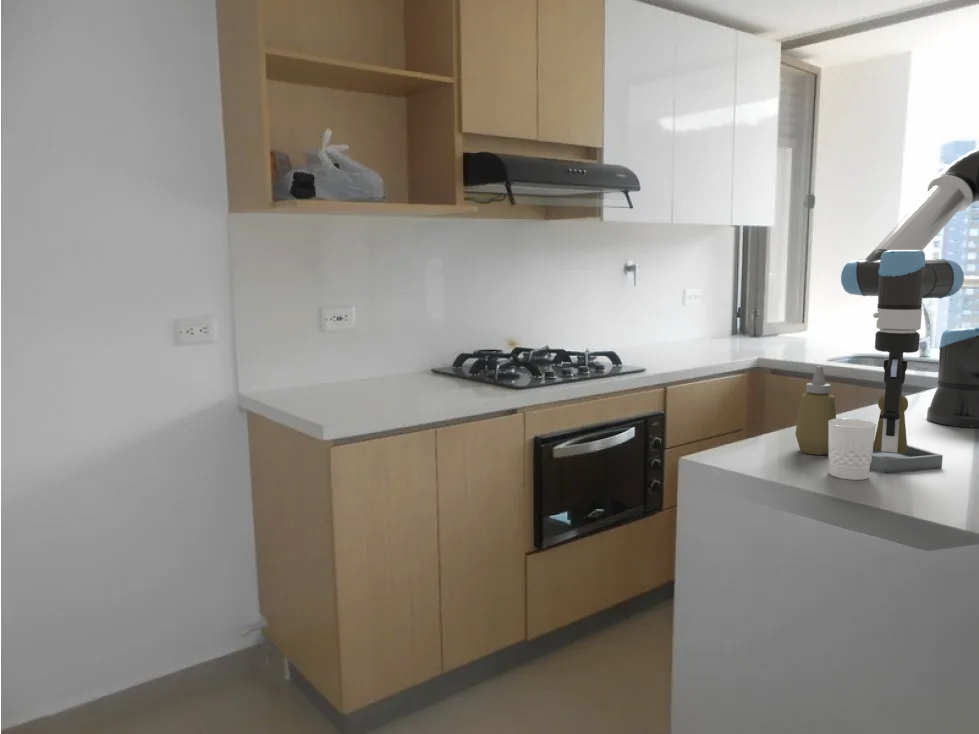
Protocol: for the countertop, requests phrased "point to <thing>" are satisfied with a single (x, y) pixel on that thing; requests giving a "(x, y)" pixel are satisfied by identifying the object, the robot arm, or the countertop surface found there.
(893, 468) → the tray
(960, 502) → the countertop surface
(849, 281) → the robot arm
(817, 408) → the squeeze bottle
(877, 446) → the cork
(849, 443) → the white cup
